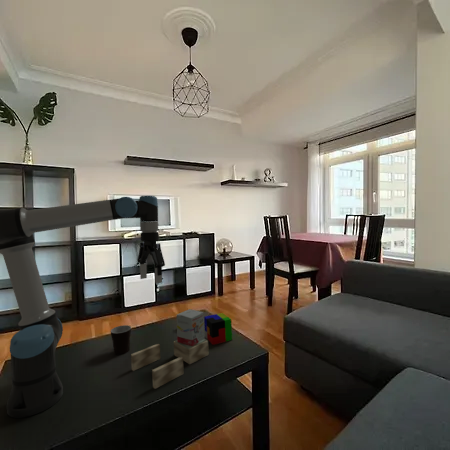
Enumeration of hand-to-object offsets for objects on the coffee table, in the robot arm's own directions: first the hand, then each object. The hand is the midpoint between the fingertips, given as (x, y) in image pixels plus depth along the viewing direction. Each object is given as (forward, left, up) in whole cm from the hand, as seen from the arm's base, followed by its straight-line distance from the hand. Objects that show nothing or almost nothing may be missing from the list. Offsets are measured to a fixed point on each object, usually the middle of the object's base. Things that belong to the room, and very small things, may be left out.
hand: (150, 280), depth 116 cm
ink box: (+10, -13, -26) cm, 31 cm away
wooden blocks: (+1, -13, -32) cm, 35 cm away
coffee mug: (-7, +15, -32) cm, 36 cm away
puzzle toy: (+29, -10, -32) cm, 44 cm away
